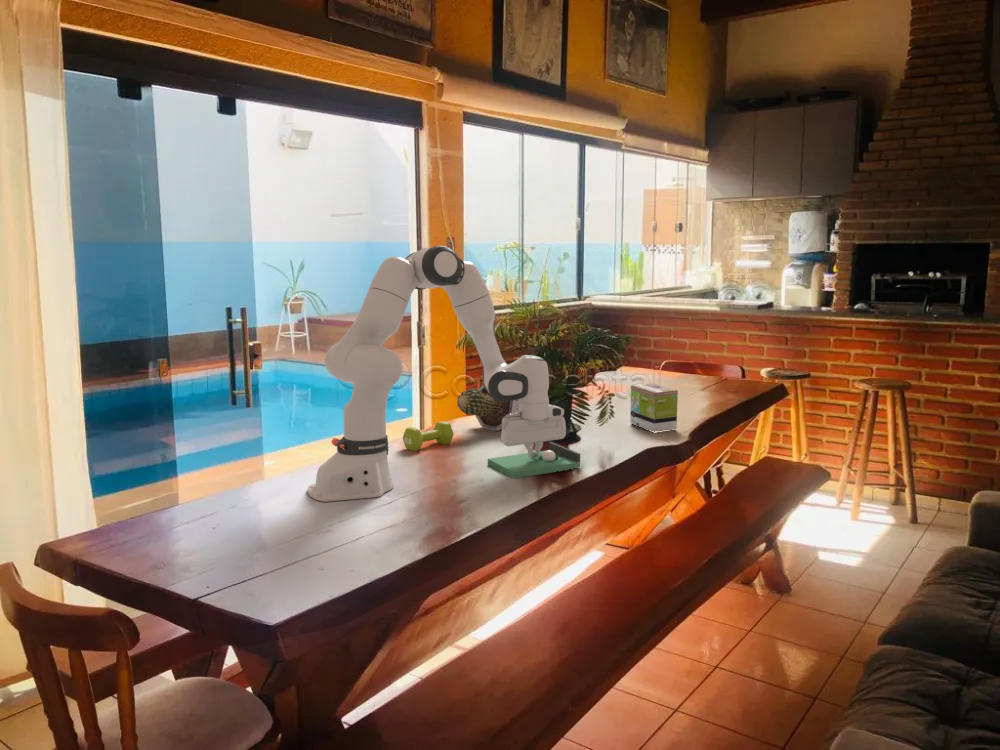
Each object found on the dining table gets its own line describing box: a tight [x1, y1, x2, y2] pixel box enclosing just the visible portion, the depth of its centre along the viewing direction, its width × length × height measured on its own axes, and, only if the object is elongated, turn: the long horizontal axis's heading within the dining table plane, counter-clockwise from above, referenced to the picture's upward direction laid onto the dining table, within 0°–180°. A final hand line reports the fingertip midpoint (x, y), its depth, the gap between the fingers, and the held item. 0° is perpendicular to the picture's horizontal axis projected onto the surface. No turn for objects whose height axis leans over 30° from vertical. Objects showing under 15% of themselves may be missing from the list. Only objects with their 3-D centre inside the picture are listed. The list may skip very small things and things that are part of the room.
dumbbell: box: [402, 420, 454, 452], centre depth 260 cm, size 16×8×7 cm, turn 132°
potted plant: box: [456, 384, 519, 432], centre depth 282 cm, size 18×18×30 cm
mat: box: [487, 441, 581, 479], centre depth 236 cm, size 22×16×4 cm
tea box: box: [629, 382, 679, 432], centre depth 284 cm, size 15×10×15 cm, turn 25°
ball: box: [542, 449, 556, 461], centre depth 239 cm, size 4×4×4 cm
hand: (533, 456), depth 236 cm, fingers closed
